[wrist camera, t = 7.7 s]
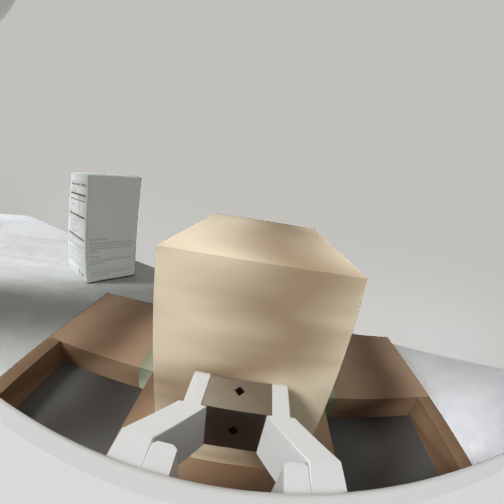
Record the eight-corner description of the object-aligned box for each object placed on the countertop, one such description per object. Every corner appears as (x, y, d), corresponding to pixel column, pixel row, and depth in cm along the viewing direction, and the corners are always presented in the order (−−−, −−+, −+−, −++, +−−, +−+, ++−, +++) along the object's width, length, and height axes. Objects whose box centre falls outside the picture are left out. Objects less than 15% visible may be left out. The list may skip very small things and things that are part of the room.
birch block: (158, 449, 10) (156, 245, 8) (201, 342, 20) (216, 213, 18) (296, 470, 10) (367, 278, 8) (286, 355, 19) (313, 228, 18)
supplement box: (111, 260, 40) (118, 173, 37) (136, 276, 35) (144, 176, 33) (67, 265, 34) (70, 171, 31) (84, 284, 29) (88, 172, 27)
